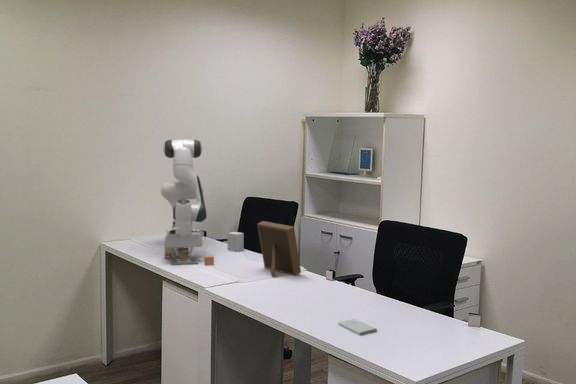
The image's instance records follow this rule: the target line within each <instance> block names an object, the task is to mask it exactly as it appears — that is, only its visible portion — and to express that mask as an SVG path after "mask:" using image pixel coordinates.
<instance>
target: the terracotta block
mask: <svg viewBox="0 0 576 384" xmlns="http://www.w3.org/2000/svg"><path fill="white" fill-rule="evenodd" d="M214 265H215V256H214V255H213V254H207V255H204V266H214Z"/></svg>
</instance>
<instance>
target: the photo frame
mask: <svg viewBox="0 0 576 384" xmlns="http://www.w3.org/2000/svg"><path fill="white" fill-rule="evenodd" d="M256 226H257V231H258V238H259V242H260V249H261V254H262V255H261V256H262V259H263V261H262V262H263V266H264V267H263V268H265V269H269V270H270V276H271V277H272V278H274V276H275V271H277V272H279V273H284V274H288V275H292V276H298V274H300V273H302V271H301V263H300V257H299V250H298V244H297V237H296V232H295V231H296V230H295V226H293V225H287V224H282V223H278V222H277V223H275V222H271V221H266V220H262V221H260V222H258V223H257V224H256Z"/></svg>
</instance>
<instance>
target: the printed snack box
mask: <svg viewBox="0 0 576 384" xmlns="http://www.w3.org/2000/svg"><path fill="white" fill-rule="evenodd" d="M179 248H185V247H177V249H176V250H177V252H179ZM164 258H165V259H170V258H179V255H178V256H176V252H175V250H174V248H166V247H165V246H164Z"/></svg>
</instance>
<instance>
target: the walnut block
mask: <svg viewBox="0 0 576 384" xmlns="http://www.w3.org/2000/svg"><path fill="white" fill-rule="evenodd" d="M189 251H190V250H189V247H184V248H179V256H178V258H179V259H189V256H190V255H189Z"/></svg>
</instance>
